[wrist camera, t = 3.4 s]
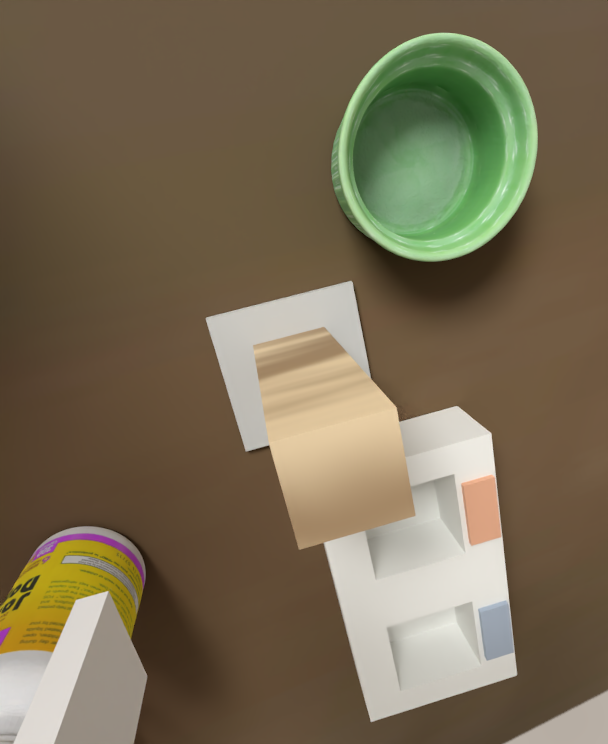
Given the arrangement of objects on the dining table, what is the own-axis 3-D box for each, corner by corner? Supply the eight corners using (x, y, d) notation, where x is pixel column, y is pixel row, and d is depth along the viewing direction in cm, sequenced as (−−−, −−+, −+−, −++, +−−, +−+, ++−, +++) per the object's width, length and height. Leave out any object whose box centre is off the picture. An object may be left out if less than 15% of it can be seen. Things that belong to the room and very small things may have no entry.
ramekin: (334, 270, 25) (354, 279, 21) (306, 81, 22) (322, 49, 18) (491, 239, 26) (540, 242, 22) (483, 53, 23) (537, 16, 19)
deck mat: (206, 317, 25) (205, 319, 25) (350, 281, 25) (352, 281, 25) (245, 448, 28) (245, 451, 27) (376, 412, 28) (378, 415, 28)
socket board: (299, 449, 28) (310, 487, 24) (460, 405, 29) (497, 434, 25) (355, 666, 34) (372, 726, 30) (488, 625, 34) (522, 678, 30)
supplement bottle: (61, 503, 27) (-80, 732, 15) (167, 546, 29) (118, 781, 17) (12, 590, 28) (-156, 868, 16) (117, 626, 30) (37, 900, 18)
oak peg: (252, 345, 25) (268, 442, 14) (324, 326, 26) (396, 407, 14) (271, 411, 27) (299, 549, 15) (338, 393, 27) (415, 515, 16)
